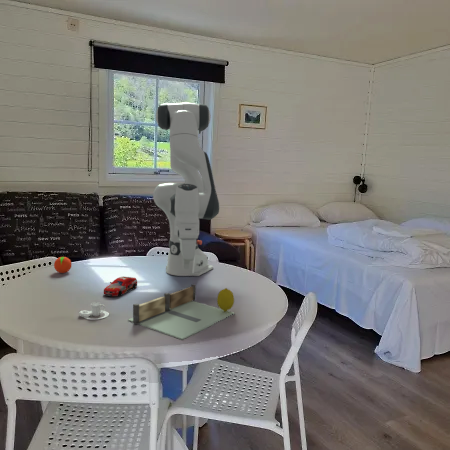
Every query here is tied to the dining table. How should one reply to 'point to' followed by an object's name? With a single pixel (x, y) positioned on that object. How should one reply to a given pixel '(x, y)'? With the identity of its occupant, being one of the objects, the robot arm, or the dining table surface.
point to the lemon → (225, 299)
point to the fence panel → (182, 296)
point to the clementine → (62, 264)
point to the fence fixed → (151, 308)
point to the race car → (120, 286)
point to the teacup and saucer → (94, 311)
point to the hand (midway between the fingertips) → (186, 268)
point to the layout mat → (185, 319)
